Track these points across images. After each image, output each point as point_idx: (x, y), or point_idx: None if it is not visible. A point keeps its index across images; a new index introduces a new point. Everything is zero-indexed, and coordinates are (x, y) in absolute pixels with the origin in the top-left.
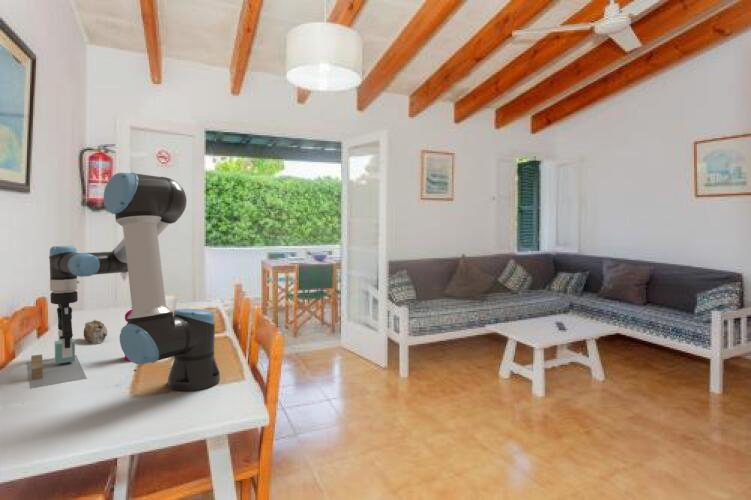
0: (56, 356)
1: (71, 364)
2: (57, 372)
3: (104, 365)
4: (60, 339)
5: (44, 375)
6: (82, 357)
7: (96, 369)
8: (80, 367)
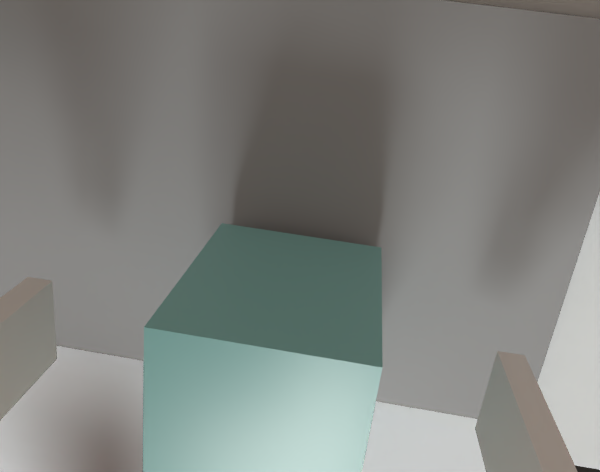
0: (198, 257)
1: None
2: (36, 181)
3: (98, 465)
4: (524, 450)
5: (3, 78)
6: (447, 439)
7: (27, 404)
8: (86, 342)
